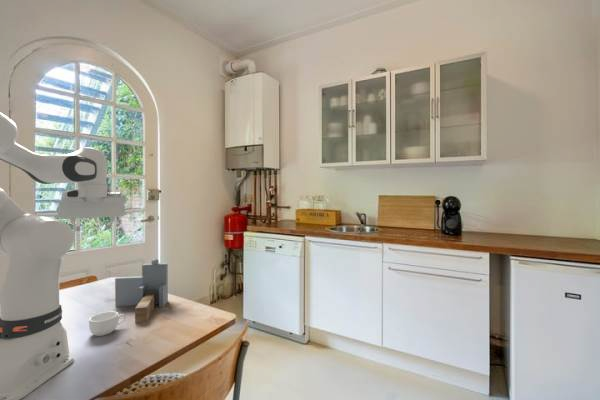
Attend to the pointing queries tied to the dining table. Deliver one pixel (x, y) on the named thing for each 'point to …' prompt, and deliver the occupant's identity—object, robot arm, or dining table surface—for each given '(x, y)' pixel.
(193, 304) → the dining table surface
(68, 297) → the dining table surface
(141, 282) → the stepped grey building model
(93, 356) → the dining table surface
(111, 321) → the teacup
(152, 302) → the wooden block
